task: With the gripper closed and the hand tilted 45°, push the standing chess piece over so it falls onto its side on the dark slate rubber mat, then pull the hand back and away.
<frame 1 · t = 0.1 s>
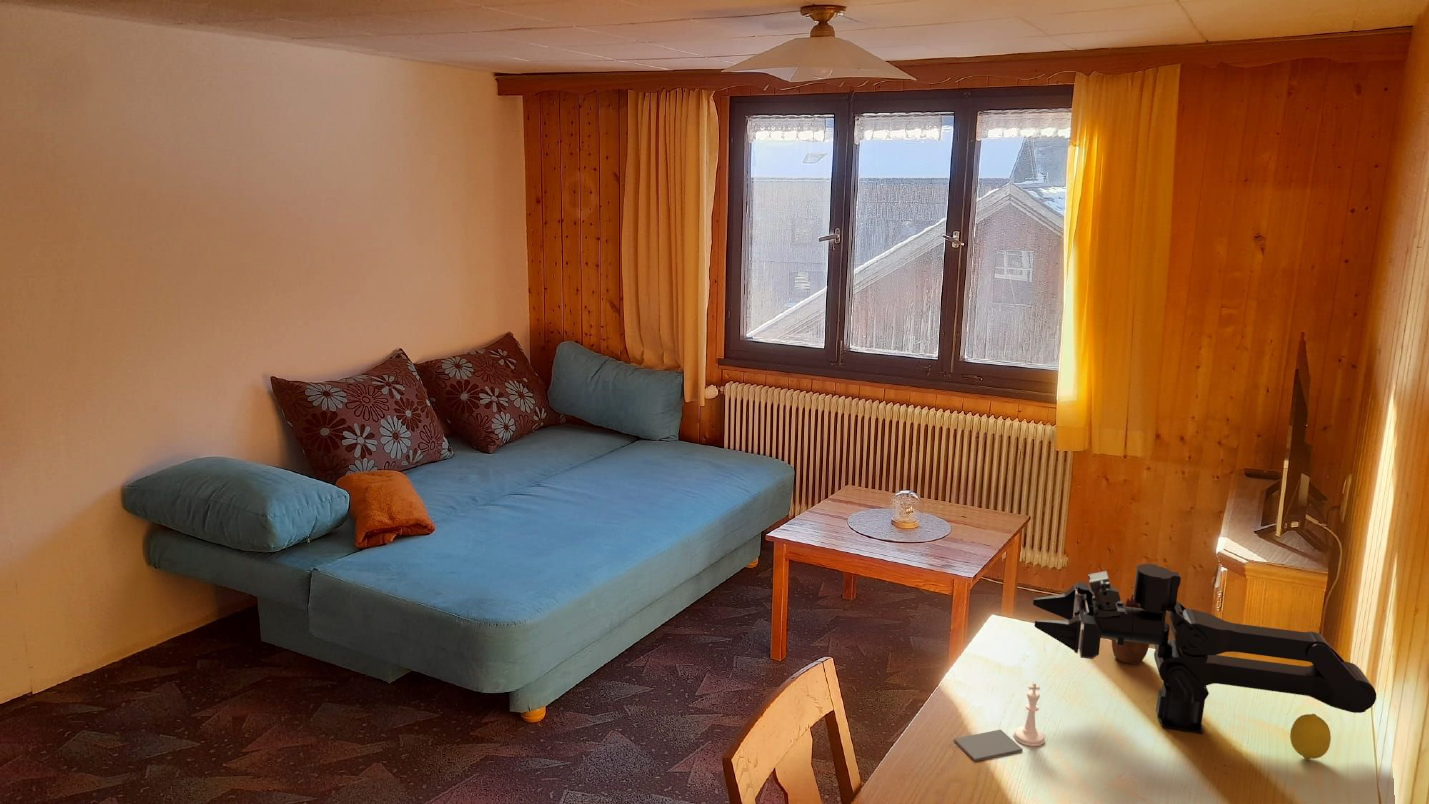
hand: (1033, 612, 175), 17 cm above the table, tool horizontal, fingers open, 9 cm apart
wooden figurine: (1127, 660, 194), on the table
slate mat: (987, 746, 164), on the table
chess piece: (1028, 738, 167), on the table
lemon: (1306, 760, 162), on the table
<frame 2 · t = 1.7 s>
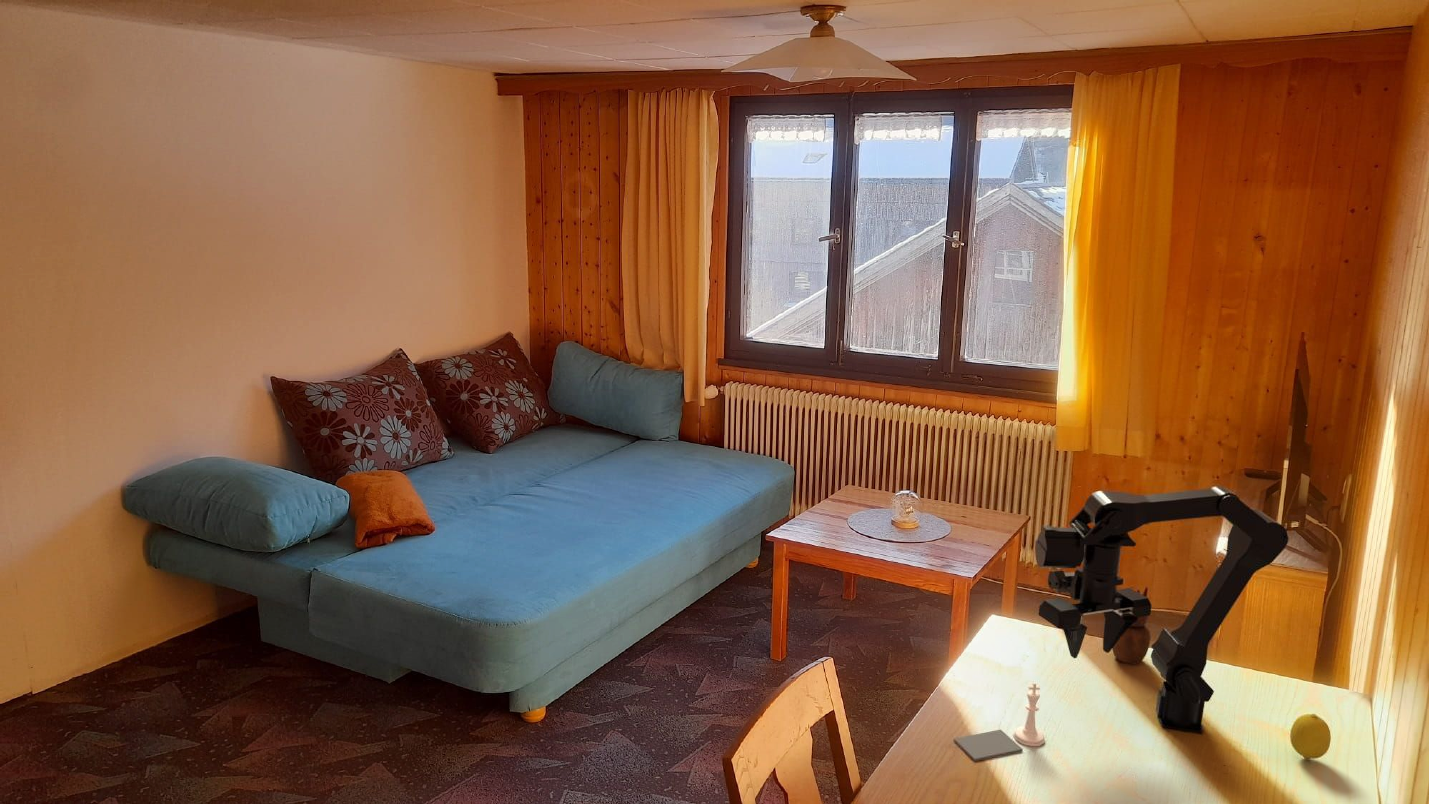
hand: (1089, 654, 170), 12 cm above the table, tool pointing down, fingers open, 6 cm apart
nothing on the table moved.
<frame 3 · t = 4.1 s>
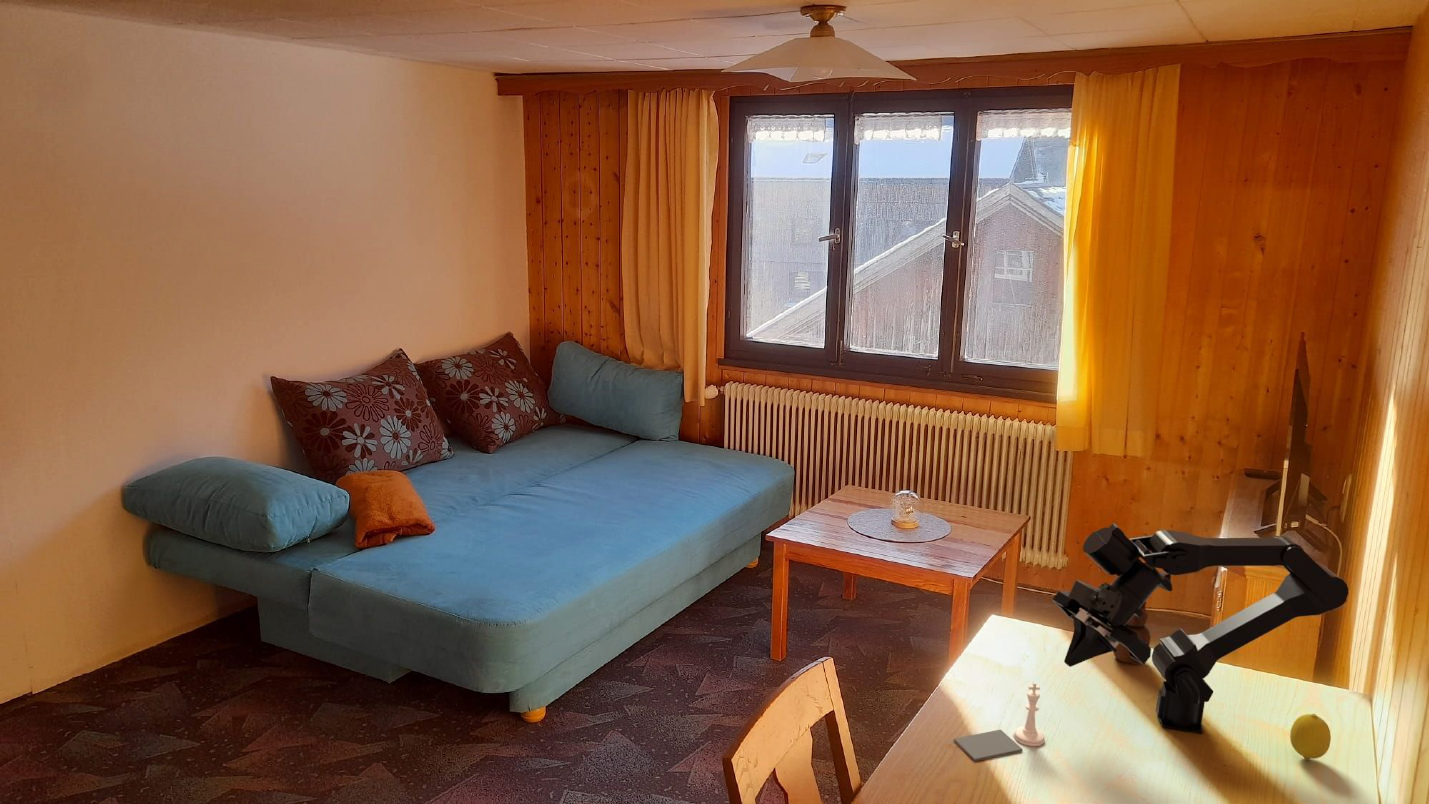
hand: (1066, 664, 166), 12 cm above the table, tool tilted 45°, fingers closed
nothing on the table moved.
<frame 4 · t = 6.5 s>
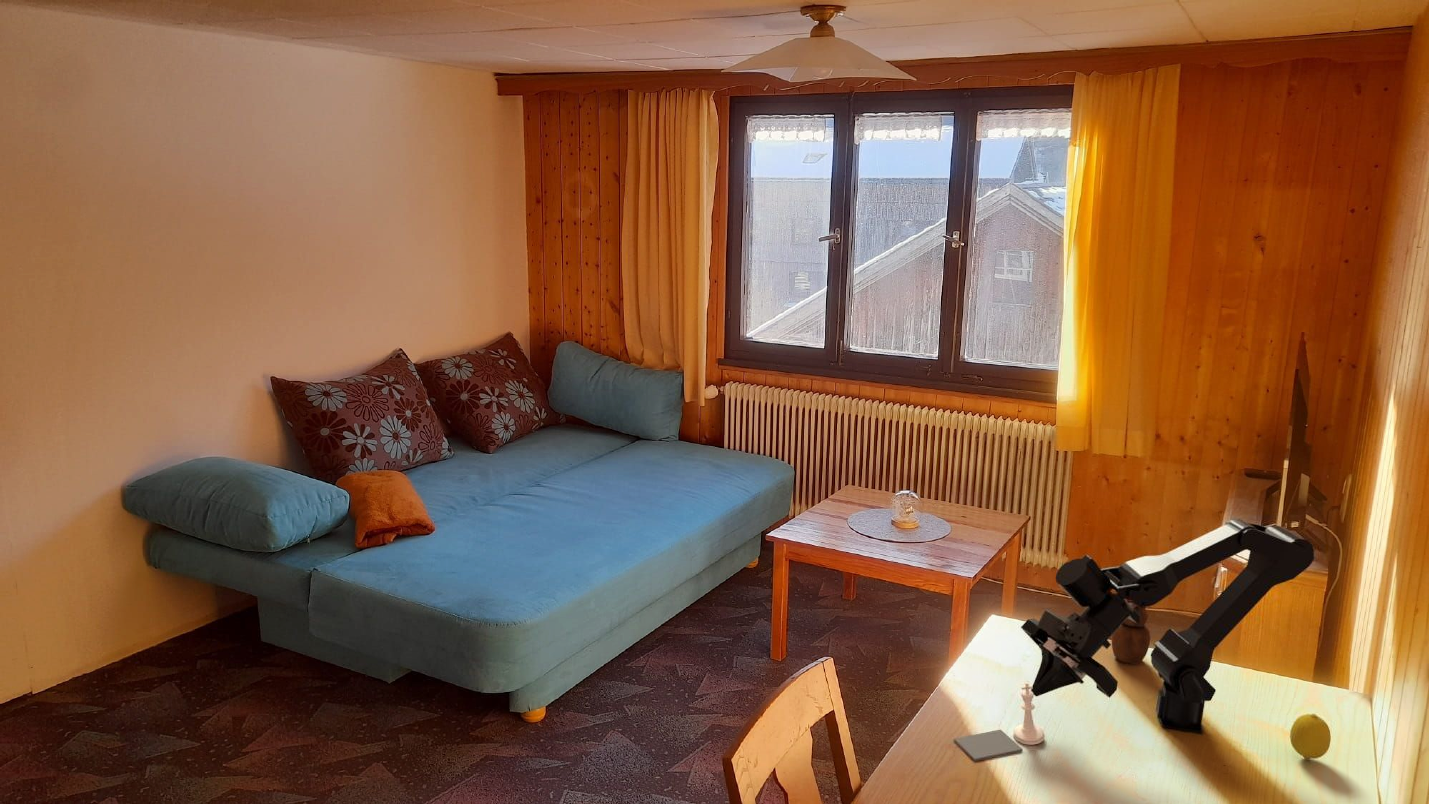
hand: (1033, 694, 165), 8 cm above the table, tool tilted 45°, fingers closed
chess piece: (1029, 736, 167), on the table, touching gripper
everything else where it was.
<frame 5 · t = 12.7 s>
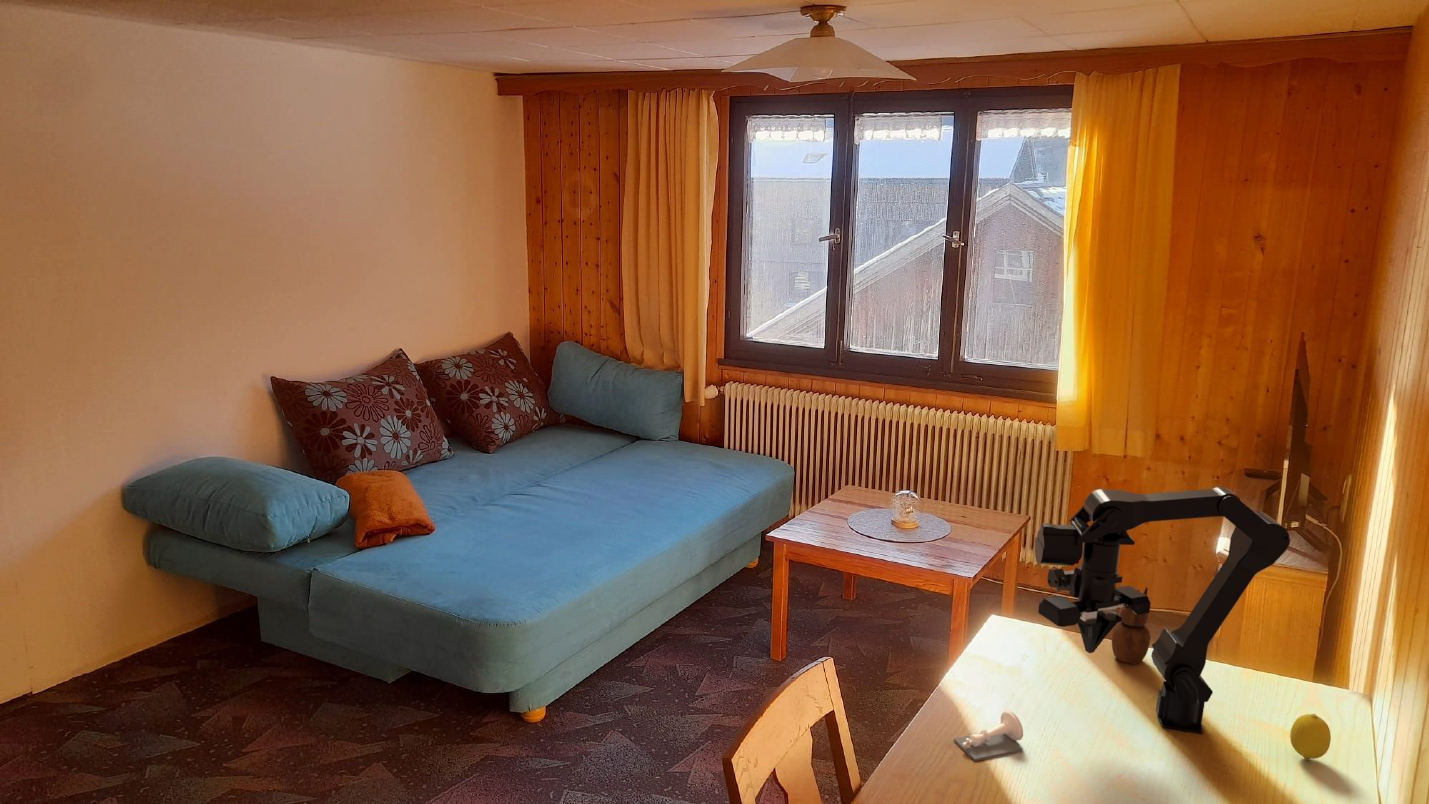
hand: (1089, 651, 171), 12 cm above the table, tool pointing down, fingers closed
chess piece: (1014, 724, 166), point 3 cm above the table, touching slate mat
everything else where it was.
at the end: chess piece tilted 98°; chess piece touching slate mat, table; the gripper is holding nothing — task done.
